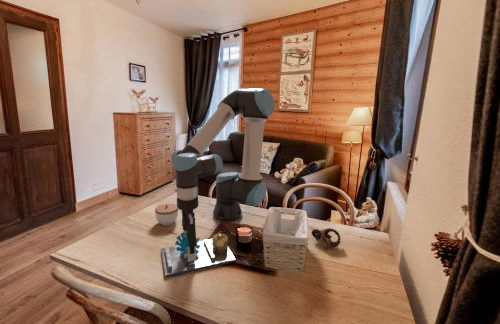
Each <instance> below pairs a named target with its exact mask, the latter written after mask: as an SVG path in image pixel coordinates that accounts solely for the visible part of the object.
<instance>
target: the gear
mask: <svg viewBox="0 0 500 324" xmlns="http://www.w3.org/2000/svg"><path fill="white" fill-rule="evenodd" d="M184 235H185V233H183V232H180V234H179V235H178V236H177V237H176V241H175V242H174V246H177V245H179V246H180V247H181V248H180V247H177V248H176V249H177V251H179V250H180V252H181V253H180V255H181V256H183V255H184V254H185V253H186V252H187V253H188V247H187V246H186V244H188V238H187V233H186V237H184ZM198 241H201V240H200V237H196V243H198ZM196 248H197V249H199V248H200V245H197V246H196ZM197 249H196V254H197V253H199V251H198V250H197ZM182 251H184V252H182ZM186 258H188V255H186Z"/></svg>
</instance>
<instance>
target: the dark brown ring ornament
mask: <svg viewBox="0 0 500 324" xmlns="http://www.w3.org/2000/svg"><path fill="white" fill-rule="evenodd" d="M330 232H333V233H334V234H335V235H336V237H337V240H336V241H330V242H328V241H329V240H331V238H333V236H332V235H330ZM310 234H311V236H312V237H313V238H314V239H315V240H316V242H318V241H319V240H321V239H322V241H323V243H324V244H325V245H324V247H323V248H324V250H327V251H328V250H331V249H335V248H338V247H339V245H340V244H341V234H340V233H339V232H338V231H337V230H336V229H334V228H330V227H329V228H324V229H322V230H320V229H317V228H314V229H312V231H311V233H310Z"/></svg>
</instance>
